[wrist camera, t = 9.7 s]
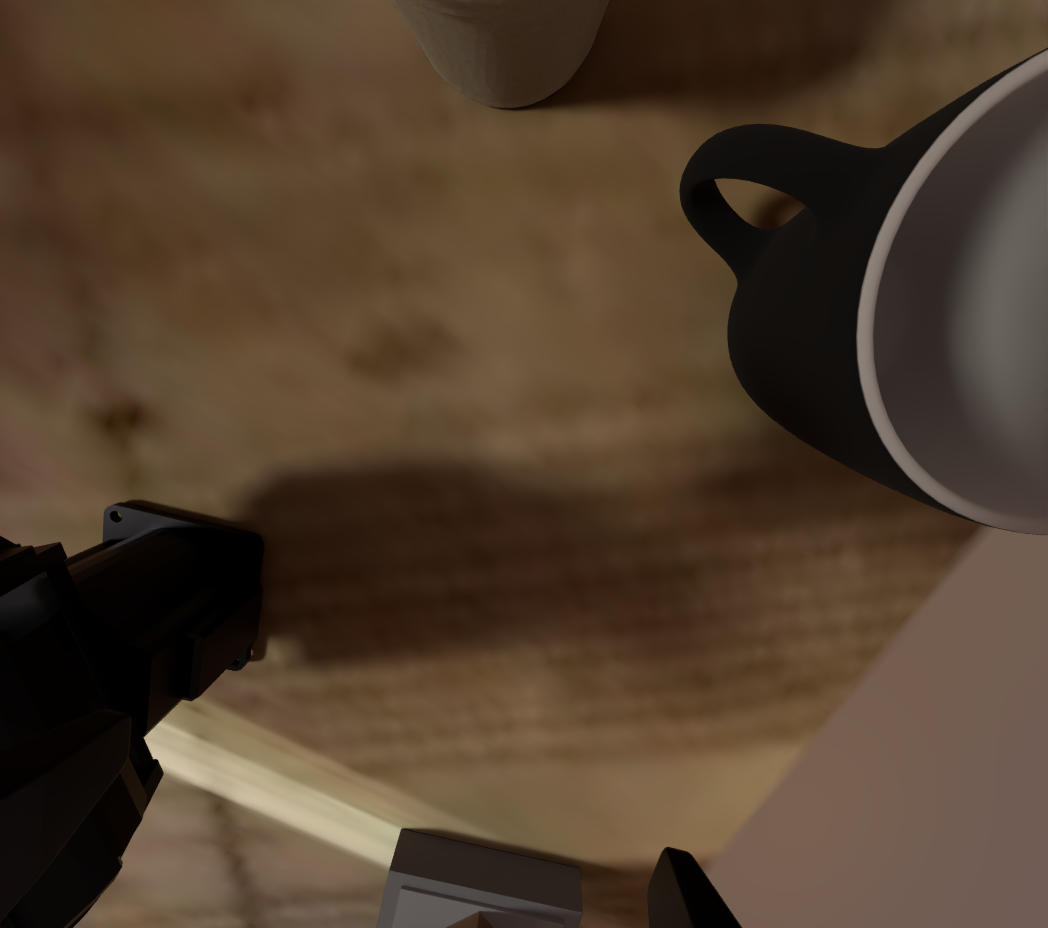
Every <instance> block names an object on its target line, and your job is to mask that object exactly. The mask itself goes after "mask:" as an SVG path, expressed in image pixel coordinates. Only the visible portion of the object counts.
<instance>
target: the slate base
mask: <svg viewBox="0 0 1048 928" xmlns="http://www.w3.org/2000/svg"><path fill="white" fill-rule="evenodd" d="M478 911H479V912H480V913H481V914H482V915H483V916H484V917H485V919H486V920H487V921H488V922H489V923H490V924H491V926H492V927H493V928H578V925H579V922H580V919H581V917H582V914H583V909H582V896H581V882H580V869H579V868H575V867H570V866H566V865H561V864H557V863H552V862H548V861H543V860H538V859H534V858H529V857H525V856H520V855H516V854H511V853H507V852H502V851H498V850H493V849H489V848H484V847H480V846H475V845H471V844H466V843H462V842H457V841H453V840H448V839H444V838H439V837H435V836H430V835H426V834H421V833H417V832H412V831H408V830H403V829H401V832H400V835H399V838H398V842H397V845H396V849H395V852H394V856H393V859H392V863H391V866H390V870H389V874H388V878H387V883H386V887H385V892H384V896H383V901H382V905H381V910H380V914H379V919H378V923H377V928H446V927H448V926H450V925H452V924H454V923H456V922H458V921H460V920H462V919H464V918H466V917H468V916H470V915H472V914H474V913H476V912H478Z"/></svg>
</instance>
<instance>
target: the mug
mask: <svg viewBox="0 0 1048 928" xmlns="http://www.w3.org/2000/svg"><path fill="white" fill-rule="evenodd" d="M720 178H729V179H740V180H746V181H751V182H755V183H759V184H763V185H765V186H768V187H771V188H774V189H777V190H779V191H782V192H784V193H786V194H789V195H791V196H792V197H794V198H796V199H798V200H799V201H801V202H802V203H803V204H804V205H805V206H806V207H805V208H804V209H803V210H801V211H800V212H799V213H798V214H797V215H796V216H795V217H793V218H792V219H791V220H790V221H789V222H788V223H786V224H785V225H783V226H782V227H780V228H778V229H776V230H773V231H765V230H761V229H759V228H756V227H754V226H752V225H750V224H749V223H747V222H746V221H744V220H743V219H742V218H741V217H740V216H739V215H738V214H737V213H736V212H735V211H734V210H733V209H732V208H731V207H730V206H729V204H728V203H727V202H726V200H725V199H724V198H723V196H722V195H721V193H720V191H719V189H718V187H717V185H716V182H715V180H714V179H720ZM679 192H680V201H681V206H682V209H683V211H684V213H685V215H686V217H687V219H688V221H689V222H690V224H691V225H692V227H693V228H694V229H695V230H696V232H697V233H698V234H699V235H700V236H701V237H702V238H703V239H704V241H705V242H706V243H707V244H708V245H709V246H710V247H711V248H712V249H713V250H715V251H716V252H717V253H718V254H719V255H720V256H721V257H722V258H723V259H724V261H725V262H726V263H727V264H728V265H729V267H730V268H731V269H732V271H733V272H734V274H735V276H736V278H737V282H738V287H737V290H736V293H735V296H734V298H733V302H732V305H731V309H730V314H729V320H728V349H729V354H730V359H731V362H732V365H733V368H734V370H735V373H736V375H737V377H738V379H739V381H740V383H741V385H742V386H743V388H744V389H745V391H746V392H747V394H748V395H749V396H750V397H751V398H752V400H753V401H754V402H755V403H756V404H757V405H758V406H759V407H760V408H761V409H762V410H763V411H764V412H765V413H766V414H767V415H768V416H769V417H771V418H772V419H773V420H774V421H776V422H777V423H778V424H780V425H781V426H782V427H784V428H785V429H786V430H788V431H789V432H791V433H792V434H793V435H795V436H796V437H798V438H799V439H801V440H802V441H804V442H805V443H807V444H809V445H810V446H812V447H814V448H816V449H817V450H819V451H821V452H822V453H824V454H826V455H828V456H829V457H831V458H833V459H835V460H836V461H838V462H840V463H842V464H844V465H845V466H847V467H849V468H851V469H853V470H855V471H857V472H859V473H861V474H862V475H864V476H866V477H868V478H870V479H873V480H875V481H877V482H879V483H881V484H883V485H885V486H887V487H889V488H891V489H894V490H896V491H898V492H900V493H902V494H905V495H907V496H909V497H911V498H913V499H916V500H918V501H920V502H922V503H925V504H927V505H929V506H932V507H934V508H937V509H939V510H942V511H944V512H947V513H950V514H952V515H955V516H958V517H961V518H964V519H967V520H970V521H973V522H976V523H979V524H982V525H985V526H989V527H994V528H998V529H1003V530H1008V531H1013V532H1018V533H1027V534H1035V535H1048V48H1046V49H1044V50H1042V51H1040V52H1039V53H1037V54H1035V55H1033V56H1031V57H1029V58H1027V59H1025V60H1024V61H1022V62H1020V63H1018V64H1016V65H1014V66H1012V67H1010V68H1009V69H1007V70H1005V71H1003V72H1001V73H1000V74H998V75H996V76H994V77H992V78H991V79H989V80H987V81H986V82H984V83H982V84H980V85H979V86H977V87H975V88H974V89H972V90H971V91H969V92H967V93H966V94H964V95H963V96H961V97H959V98H958V99H956V100H955V101H953V102H951V103H950V104H948V105H947V106H945V107H944V108H942V109H940V110H939V111H937V112H936V113H934V114H933V115H931V116H930V117H928V118H926V119H925V120H923V121H922V122H920V123H919V124H917V125H916V126H914V127H913V128H911V129H910V130H908V131H907V132H905V133H904V134H902V135H901V136H899V137H898V138H897V139H895V140H894V141H892V142H891V143H889V144H888V145H887V146H885V147H882V148H864V147H859V146H854V145H850V144H847V143H843V142H840V141H837V140H834V139H830V138H827V137H824V136H821V135H817V134H814V133H811V132H808V131H804V130H800V129H796V128H792V127H786V126H780V125H772V124H750V125H742V126H738V127H733V128H730V129H727V130H724V131H722V132H720V133H717V134H715V135H714V136H713V137H711V138H710V139H708V140H707V141H706V142H705V143H703V144H702V145H701V146H700V147H699V149H698V150H697V151H696V152H695V153H694V155H693V156H692V157H691V159H690V160H689V162H688V164H687V166H686V168H685V170H684V173H683V175H682V179H681V183H680V190H679Z"/></svg>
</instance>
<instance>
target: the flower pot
mask: <svg viewBox="0 0 1048 928" xmlns="http://www.w3.org/2000/svg"><path fill="white" fill-rule="evenodd" d="M391 1H392V3H393V4H394V6H395V8H396V9H397V11H398V12H399V14H400V15H401V17H402V18H403V20H404V21H405V23H406V24H407V26H408V27H409V29H410V30H411V32H412V33H413V35H414V37H415V38H416V40H417V41H418V43H419V44H420V46H421V48H422V49H423V51H424V52H425V54H426V56H427V58H428V59H429V61H430V63H431V64H432V66H433V67H434V69H435V70H436V72H437V73H438V74H439V75H440V76H441V77H442V78H443V79H444V80H445V81H446V82H447V83H448V84H449V85H450V86H452V87H453V88H454V89H456V90H457V91H459V92H460V93H462V94H464V95H465V96H467V97H469V98H471V99H472V100H474V101H476V102H478V103H480V104H483V105H485V106H490V107H496V108H516V107H523V106H527V105H530V104H534V103H536V102H538V101H540V100H543V99H545V98H546V97H548V96H550V95H551V94H553V93H554V92H556V91H557V90H558V89H560V88H561V87H562V86H564V85H565V84H566V83H567V82H568V81H569V80H570V79H571V77H572V76H573V75H574V73H575V72H576V71H577V69H578V68H579V67H580V65H581V64H582V62H583V61H584V59H585V58H586V56H587V55H588V53H589V51H590V49H591V47H592V45H593V43H594V40H595V37H596V34H597V31H598V28H599V26H600V24H601V21H602V18H603V16H604V13H605V11H606V8H607V6H608V3H609V1H610V0H391Z"/></svg>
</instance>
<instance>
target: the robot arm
mask: <svg viewBox="0 0 1048 928" xmlns="http://www.w3.org/2000/svg"><path fill="white" fill-rule="evenodd" d="M118 512H119V513H120V514H121V515H122V518H120V517H119V516H118ZM247 541H248V542H250V543H251V544H252V545H253V549H251V548H249V547H248V546H247V543H246V542H247ZM263 551H264V541H263V540H262V538H261V537H260V536H259V535H258V534H256V533H253V532H249V531H244V530H240V529H236V528H231V527H227V526H223V525H219V524H214V523H210V522H206V521H201V520H197V519H193V518H188V517H184V516H180V515H176V514H171V513H167V512H163V511H158V510H154V509H150V508H145V507H141V506H137V505H133V504H128V503H123V502H119V503H117V504H114V505H111V506H109V507H107V508H106V509H105V512H104V523H103V543H101V544H98V545H96V546H94V547H92V548H89V549H87V550H85V551H83V552H80V553H78V554H76V555H74V556H72V557H69V558H67V555H66V553H65V551H64V549H63V547H62V544H61V542H57V543H52V544H47V545H43V546H38V547H33V546H32V545H30V546H23V547H21V545H20V544H14V543H12V542H11V541H9V540H7V539H5V538H3V537H1V536H0V928H73V927H74V926H75V925H76V924H77V923H78V922H79V921H80V920H81V919H82V918H83V917H84V916H85V915H86V913H87V912H88V911H89V910H90V908H91V907H92V906H93V905H94V903H95V902H96V901H97V900H98V898H99V897H100V896H101V894H102V893H103V892H104V891H105V890H106V889H107V888H108V887H109V885H110V884H111V883H112V882H113V881H114V880H115V878H116V876H117V875H118V873H119V871H120V870H121V868H122V864H123V862H122V860H121V857H122V855H123V853H124V851H125V849H126V847H127V846H128V844H129V842H130V840H131V838H132V836H133V834H134V832H135V831H136V829H137V827H138V826H139V824H140V823H141V821H142V819H143V814H144V812H145V810H146V808H147V806H148V804H149V802H150V800H151V798H152V796H153V794H154V792H155V790H156V788H157V786H158V784H159V782H160V780H161V778H162V776H163V774H164V773H163V770H162V768H161V766H160V764H159V761H158V760H157V759H153V757H152V755H151V753H150V751H149V748H148V746H147V744H146V742H145V740H144V737H145V736H146V735H147V734H148V733H149V732H150V731H151V730H152V729H153V728H154V727H155V726H156V725H157V724H158V723H159V722H160V721H161V720H162V719H163V718H164V717H165V716H166V715H167V714H168V713H169V712H170V711H171V710H172V709H173V708H174V707H175V706H176V705H177V704H178V703H179V702H180V701H181V700H187V701H193V700H195V699H196V698H198V697H199V696H201V695H202V694H203V692H204V691H205V690H206V689H207V688H208V687H209V686H210V685H211V684H212V683H213V682H214V681H215V680H216V679H217V678H218V677H219V676H220V675H221V674H222V673H223V672H224V671H225V670H226V669H228V670H232V671H238V670H241V669H242V668H243V667H244V666H245V665H246V664H247V663H248V662H249V660H250V655H251V647H252V642H253V641H254V640H255V639H256V638H257V634H258V626H259V618H260V610H261V602H262V594H263V588H262V586H261V584H260V575H261V567H262V559H263ZM237 658H238V659H239V660H237ZM648 914H649V928H742V927H741V925H740V924H739V922H738V921H737V920H736V918H735V917H734V915H733V914H732V913H731V911H730V909H729V908H728V906H727V905H726V904H725V902H724V901H723V899H722V898H721V896H720V895H719V893H718V892H717V890H716V889H715V888H714V886H713V885H712V883H711V882H710V880H709V879H708V877H707V876H706V874H705V873H704V872H703V870H702V869H701V867H700V866H699V864H698V863H697V861H696V860H695V858H694V857H693V856H692V855H691V854H690V853H689V852H687V851H683V850H679V849H675V848H671V847H666V848H665V849H663V851H662V853H661V855H660V858H659V860H658V862H657V865H656V867H655V870H654V872H653V875H652V877H651V880H650V883H649V887H648Z"/></svg>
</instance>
